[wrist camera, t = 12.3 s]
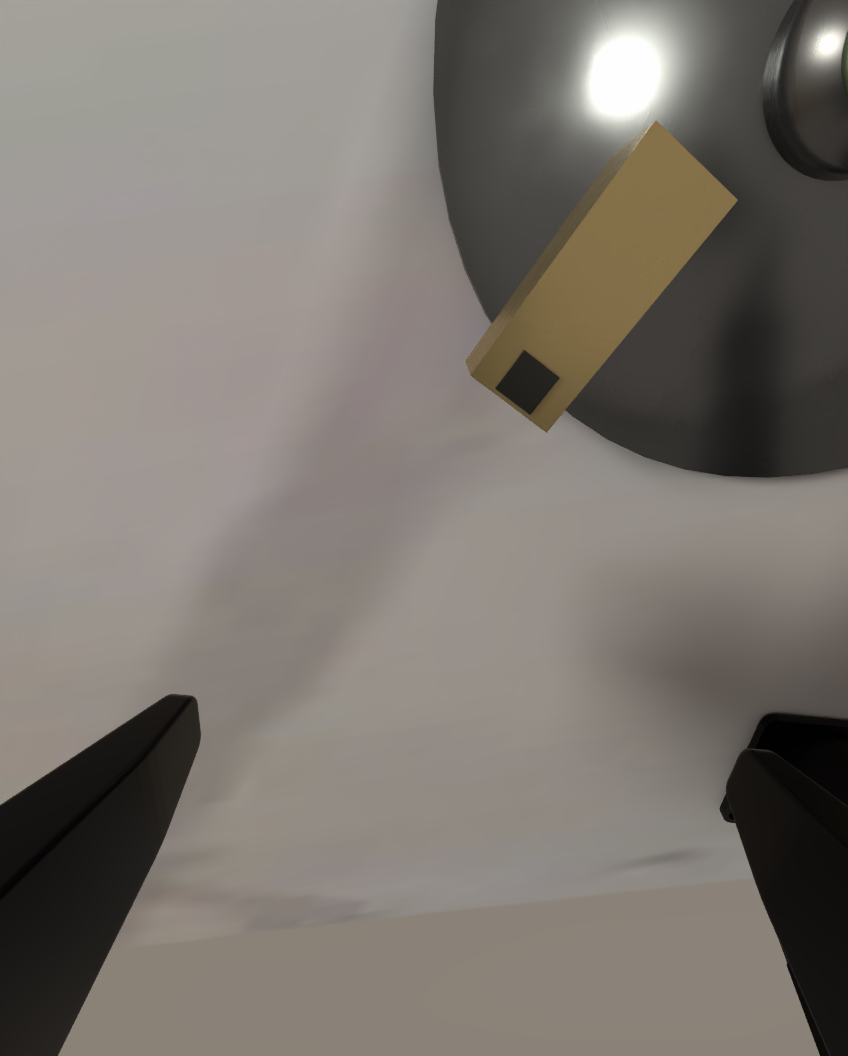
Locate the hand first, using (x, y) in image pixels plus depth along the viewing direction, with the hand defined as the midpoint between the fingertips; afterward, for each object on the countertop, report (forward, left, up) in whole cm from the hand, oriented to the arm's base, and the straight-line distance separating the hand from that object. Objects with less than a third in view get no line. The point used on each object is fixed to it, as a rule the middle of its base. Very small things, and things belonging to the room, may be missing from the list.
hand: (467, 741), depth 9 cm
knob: (-2, -7, -11) cm, 13 cm away
